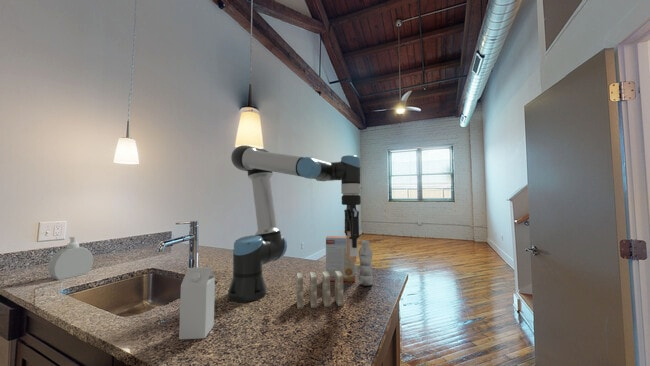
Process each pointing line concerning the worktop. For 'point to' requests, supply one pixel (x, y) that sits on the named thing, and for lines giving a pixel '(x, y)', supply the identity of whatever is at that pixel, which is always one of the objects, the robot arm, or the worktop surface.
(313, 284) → the domino
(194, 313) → the milk carton
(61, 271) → the soap bottle
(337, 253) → the cracker box
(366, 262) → the plastic bottle
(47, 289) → the worktop surface
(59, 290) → the worktop surface
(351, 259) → the domino end
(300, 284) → the domino
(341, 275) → the domino
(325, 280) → the domino
